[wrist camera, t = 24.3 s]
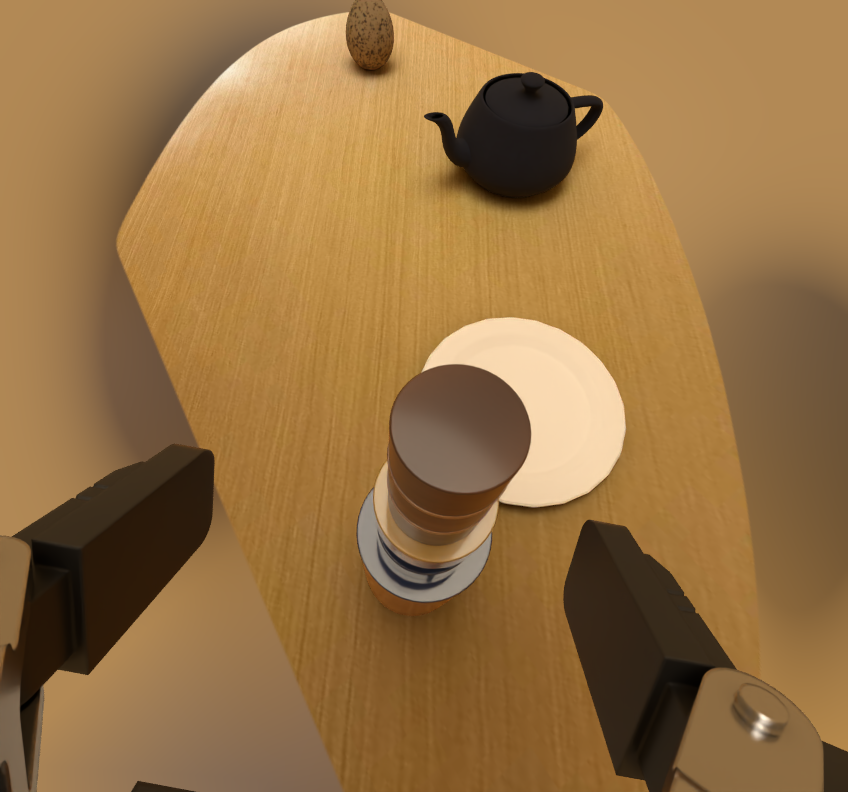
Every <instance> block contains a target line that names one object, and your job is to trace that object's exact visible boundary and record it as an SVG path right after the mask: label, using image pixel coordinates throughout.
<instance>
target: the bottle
mask: <svg viewBox="0 0 848 792" xmlns="http://www.w3.org/2000/svg"><path fill="white" fill-rule="evenodd" d="M387 471H388V462H387V460H386V461H385V463H384V464H383V466H382V467H381V469H380V471H379V473H378V475H377V478H376V481H375V485H374V487H373V489H372V490H371V491H370V492H369V494H368V495H367V497H366V499H365V500H364V503H363V505H362V507H361V510H360V513H359V516H358V522H357V544H358V548H359V553H360V556H361V560H362V564H363V567H364V571H365V574H366V578H367V582H368V584H369V587H370V589H371V591H372V593H373V594H374V596H375V597H376V599H377V600H378V601H379V602H380V603H381V604H382V605H383V606H385V607H386V608H387V609H389V610H391V611H393V612H395V613H397V614H401V615H406V616H419V615H424V614H427V613H430V612H432V611H434V610H436V609H437V608H439V607H440V606H442V605H443V604H445V603H446V602H448V601H449V600H451V599H452V598H454V597H455V596H457V595H458V594H460V593H461V592H463V591H464V590H465V589H467V588H468V587H469V586H470V585H471V584H472V583H473V582H474V581H475V580H476V579H477V577H478V576H479V575H480V573H481V572H482V570H483V569H484V567H485V564H486V562H487V560H488V557H489V554H490V550H491V544H492V530H493V528H494V525H495V523H496V520H497V516H498V511H499V499H498V500H497V501H496V502H495V503H494V504H493V505H492V507H491V509H490V510H489V512H488V513H487V515H486V516H485V517H484V518H483V519H482V520H481V521H480V522H479V523H478V524H477V525H476V527H475V528H474V529H473V530H472V531H471V532H470V533H469V534H468V535H467V536H466V537H464V538H463V539H461V540H459V541H457V542H455V543H452V544H448V545H442V546H432V545H426V544H423V543H420V542H418V541H415V540H413V539H412V538H410V537H409V536H407V535H406V534H405V533H404V532H403V531H402V530H401V529H400V528H399V527H398V526H397V524H396V523H395V521H394V519H393V517H392V515H391V512H390V509H389V505H388V488H387Z"/></svg>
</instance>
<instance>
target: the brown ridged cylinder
mask: <svg viewBox="0 0 848 792" xmlns="http://www.w3.org/2000/svg"><path fill="white" fill-rule="evenodd" d="M530 444H531V424H530V420H529V416H528V413H527V411H526V408H525V406H524V404H523V402H522V400H521V399H520V397H519V396H518V395H517V393H516V392H515V391H514V390H513V389H512V388H511V387H510V386H509V385H508V384H507V383H506V382H505V381H504V380H502V379H501V378H499V377H498V376H496V375H495V374H493V373H491V372H489V371H486V370H484V369H481V368H478V367H475V366H470V365H464V364H448V365H442V366H437V367H434V368H430V369H428V370H426V371H424V372H422V373H420V374H418V375H417V376H415V377H414V378H413V379H411V380H410V381H409V382H408V383H407V384H406V385H405V386H404V387H403V388H402V390H401V391H400V392H399V394H398V395H397V397H396V399H395V401H394V403H393V406H392V409H391V414H390V420H389V443H388V449H387V462H388V471H387V488H388V505H389V509H390V512H391V515H392V517H393V519H394V521H395V523H396V524H397V526H398V527H399V528H400V529H401V530H402V531H403V532H404V533H405V534H406V535H407V536H409V537H410V538H412V539H413V540H415V541H418V542H420V543H423V544H426V545H432V546H442V545H448V544H452V543H455V542H457V541H459V540H461V539H463V538H464V537H466V536H467V535H468V534H469V533H470V532H471V531H472V530H473V529H474V528H475V527H476V525H477V524H478V523H479V522H480V521H481V520H482V519H483V518H484V517H485V516H486V515H487V513H488V512H489V510H490V509H491V507H492V505H493V504H494V503H495V502H496V501H497V500H498V499H499V498H500V497H501V495H502V494H503V493H504V491H505V490H506V488H507V486H508V484H509V483H510V482H511V480H512V479H513V478H514V476H515V475H516V474H517V473H518V471H519V470H520V468H521V467H522V466H523V464H524V462H525V460H526V458H527V455H528V452H529V449H530Z"/></svg>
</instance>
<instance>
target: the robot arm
mask: <svg viewBox="0 0 848 792" xmlns="http://www.w3.org/2000/svg"><path fill="white" fill-rule="evenodd" d="M213 486H214V455H213V453H212V451H210V450H207V449H201V448H196V447H190V446H185V445H179V444H172V445H170V446H168V447H167V448H165V449H164V450H163V451H161V452H160V453H158V454H157V455H155V456H154V457H152V458H151V459H149V460H148V461H146V462H139V463H136V464H133V465H130V466H127V467H125V468H122V469H118V470H116V471H114V472H112V473H110V474H109V475H107V476H106V477H104V478H103V479H101V480H100V481H98V482H96V483H95V484H94V486H93V487H89V488H87V489H85V490H84V491H82V492H81V493H79V494H78V495H77V496H76V498H75V499H74V498H71V499H70V500H68V501H67V502H65V503H64V504H62V505H60V506H59V507H57V508H56V509H54V510H53V511H51V512H50V513H48V514H47V515H45V516H43V517H42V518H40V519H39V520H37V521H35V522H34V523H32V524H31V525H29V526H28V527H26V528H25V529H23V530H21V531H20V532H18V533H17V534H15V535H14V536H12V537H9V536H0V792H37V780H38V768H39V756H40V744H41V732H42V720H43V707H44V689H43V684H44V683H45V682H46V681H47V680H48V679H49V678H50V677H51V676H52V675H53V674H54V672H56V671H57V670H64V671H69V672H74V673H80V674H85V675H89V674H90V672H91V671H92V670H93V669H94V668H95V667H96V665H97V664H98V663H99V662H100V661H101V660H102V658H103V657H104V656H105V655H106V654H107V653H108V652H109V650H110V649H111V648H112V647H113V646H114V645H115V644H116V642H117V641H118V640H119V639H120V638H121V636H122V635H123V634H124V633H125V632H126V631H127V630H128V628H129V627H130V626H131V625H132V624H133V623H134V622H135V620H136V619H137V618H138V617H139V616H140V614H142V612H143V611H144V610H145V609H146V608H147V607H148V605H149V604H150V603H151V602H152V601H153V600H154V599H155V597H156V596H157V595H158V594H159V593H160V592H161V590H162V589H163V588H164V587H165V586H166V585H167V583H168V582H169V581H170V580H171V579H172V578H173V577H174V575H175V574H176V573H177V572H178V571H179V570H180V568H181V567H182V566H183V565H184V564H185V563H186V562H187V560H188V559H189V558H190V557H191V556H192V554H193V553H194V552H195V551H196V550H197V549H198V548H199V547H200V545H201V544H202V543H203V541H204V539H205V537H206V535H207V533H208V531H209V528H210V525H211V520H212V510H213V509H212V508H213ZM564 609H565V614H566V617H567V620H568V623H569V626H570V629H571V633H572V636H573V639H574V642H575V645H576V649H577V652H578V655H579V658H580V661H581V664H582V668H583V671H584V674H585V677H586V680H587V683H588V687H589V690H590V693H591V696H592V699H593V703H594V706H595V709H596V712H597V715H598V718H599V722H600V725H601V728H602V731H603V734H604V737H605V741H606V744H607V747H608V750H609V753H610V757H611V760H612V763H613V766H614V769H615V772H616V775H619V776H624V777H629V778H635V779H640V780H645V781H646V784H647V787H648V789H649V792H848V752H847V751H844V750H842V749H840V748H837V747H835V746H833V745H830V744H828V743H826V742H823V741H821V739H820V736H819V734H818V732H817V730H816V729H815V727H814V726H813V724H812V723H811V721H810V720H809V719H808V718H807V717H806V715H805V714H804V713H803V712H802V711H801V710H800V709H799V708H798V707H797V706H796V705H795V704H794V703H793V702H792V701H791V700H789V699H788V698H787V697H786V696H784V695H783V694H782V693H780V692H779V691H778V690H776V689H775V688H773V687H772V686H770V685H769V684H767V683H765V682H764V681H762V680H760V679H758V678H756V677H754V676H752V675H749V674H747V673H745V672H742V671H739V670H737V669H736V668H735V666H734V665H733V663H732V662H731V660H730V659H729V658H728V656H727V655H726V653H725V652H724V650H723V649H722V647H721V646H720V644H719V643H718V641H717V640H716V639H715V637H714V636H713V634H712V633H711V631H710V630H709V628H708V627H707V625H706V624H705V622H704V621H703V620H702V618H701V617H700V615H699V614H697V613H695V608H694V606H693V605H692V603H691V602H690V601H689V599H688V598H687V597H686V596H684V592H683V590H682V589H681V587H680V586H679V585H678V583H677V582H676V580H675V579H674V577H673V576H672V574H671V573H670V572H669V571H668V570H667V569H665V568H664V567H663V566H662V565H661V564H660V563H658V562H657V561H656V560H655V559H654V558H653V557H651V556H650V555H648V554H644V553H643V552H642V550H641V549H640V547H639V546H638V544H637V543H636V541H635V539H634V538H633V536H632V535H631V533H630V532H629V530H628V529H627V528H626V527H625V526H621V525H616V524H610V523H605V522H599V521H594V520H587V521H586V522H585V523H584V525H583V527H582V529H581V532H580V536H579V539H578V542H577V545H576V549H575V552H574V555H573V558H572V561H571V565H570V568H569V571H568V574H567V578H566V581H565V586H564ZM131 792H194V791H189V790H184V789H178V788H172V787H167V786H162V785H157V784H151V783H146V782H141V781H137V783H136V785H135V786H134V788H133V790H132V791H131Z"/></svg>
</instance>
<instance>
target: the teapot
mask: <svg viewBox="0 0 848 792" xmlns="http://www.w3.org/2000/svg"><path fill="white" fill-rule="evenodd" d="M588 106H591V108H590V110H589V112H588V113H587V115H586V116H585V117H584V119H583V120H582V121H581V122H580V123H579V124H578V125H577V126H576V117H575V108H580V107H588ZM602 110H603V102H602V100H601V99H600V98H598V97H596V96H591V95H588V96H578V97H570V96H569V94H568V93H567V92H566V91H565V90H564V89H563V88H561V87H560V86H559V85H557V84H556V83H554V82H552V81H550V80H548V79H545V78H543V77H542V76H541V75H540V74H538V73H534V72H527V73H524V74H522V73H513V74H505V75H501V76H498V77H495V78H493V79H491V80H490V81H488V82H487V83H486V84H485V85H484V86H483V87H482V88H481V90H480V91H479V93H478V94H477V96H476V97H475V99H474V100H473V102H472V103H471V105H470V106H469V108H468V110H467V112H466V113H465V115H464V117H463V119H462V122H461V124H460V127H459V130H458V134H457V138H456V137H455V133H454V129H453V125H452V122H451V120H450V118H449V117H448V116H447V115H446V114H443V113H439V112H434V113H428V114H426V115H424V117H425V118H426V119H427V120H430V121H433V122H435V123H436V124H437V125H438V126H439V128H440V131H441V135H442V142H443V147H444V150H445V153H446V155H447V156H448V158H449V159H450V161H451V162H453V163H454V164H455V165H457V166H459V167H463V168H464V169H465V171H466V172H467V173H468V174H469V176H470V177H471V178H472V179H474V180H475V181H476V182H477V183H478V184H479V185H480V186H481V187H483V188H484V189H486V190H488V191H490V192H492V193H495V194H497V195H501V196H505V197H514V198H520V197H528V196H532V195H535V194H539V193H542V192H545V191H547V190H549V189H551V188H553V187H555V186H556V185H558V184H559V183H560V182H561V181H562V180H563V179H564V178H565V177H566V176H567V174H568V173H569V171H570V169H571V167H572V165H573V162H574V158H575V153H576V145H577V140H578V139H579V138H580V137H581V136H583V135H584V134H585V133H586V132H587V131H588V130H589V129H590V128H591V127H592V126H593V125H594V124H595V122H596V121H597V119H598V118H599V116H600V114H601V112H602Z"/></svg>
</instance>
